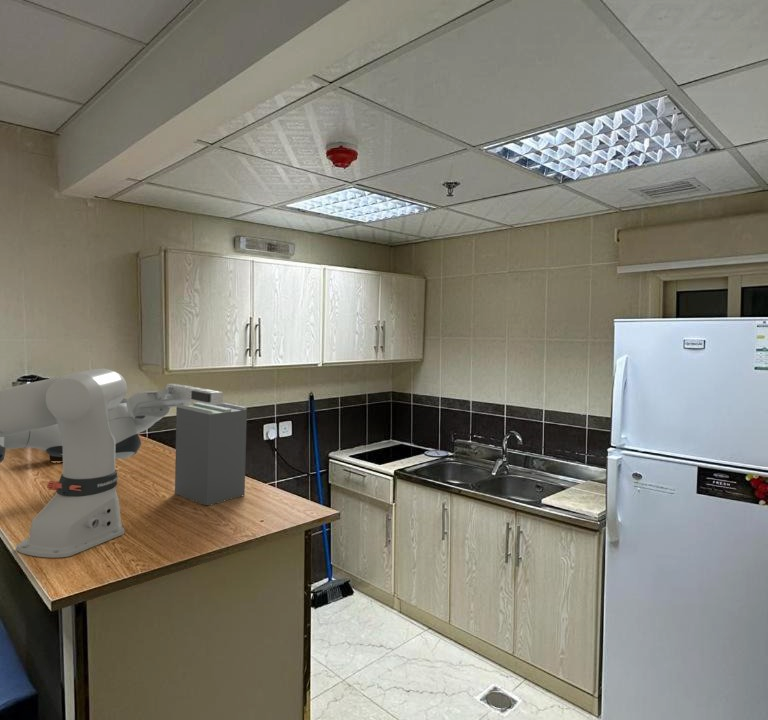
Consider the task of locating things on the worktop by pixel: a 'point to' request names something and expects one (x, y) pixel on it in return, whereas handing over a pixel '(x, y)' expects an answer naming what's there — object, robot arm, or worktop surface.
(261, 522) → the worktop surface
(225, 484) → the tall grey pillar
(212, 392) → the brushed metal post
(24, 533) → the worktop surface
